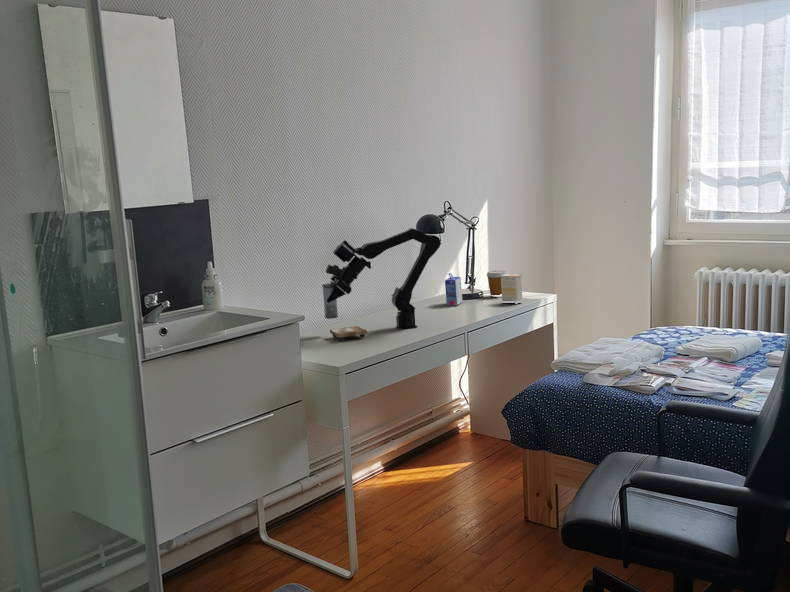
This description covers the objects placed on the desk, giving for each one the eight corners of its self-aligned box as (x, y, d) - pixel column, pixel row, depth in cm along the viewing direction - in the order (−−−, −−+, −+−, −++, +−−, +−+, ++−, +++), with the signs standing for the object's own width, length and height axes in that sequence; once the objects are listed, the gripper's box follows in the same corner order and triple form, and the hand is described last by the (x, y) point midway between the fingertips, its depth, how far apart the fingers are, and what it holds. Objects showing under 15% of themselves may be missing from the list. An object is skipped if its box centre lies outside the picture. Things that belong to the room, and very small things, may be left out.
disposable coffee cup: (507, 294, 366) (507, 270, 364) (507, 298, 357) (506, 272, 355) (488, 295, 368) (487, 270, 366) (486, 298, 359) (485, 273, 357)
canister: (335, 315, 297) (332, 282, 295) (340, 317, 292) (337, 284, 290) (322, 317, 295) (320, 284, 293) (327, 319, 290) (325, 285, 288)
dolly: (357, 333, 294) (356, 325, 293) (367, 337, 284) (367, 330, 283) (330, 336, 290) (329, 329, 289) (339, 341, 280) (339, 334, 279)
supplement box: (522, 303, 340) (522, 274, 338) (517, 304, 337) (516, 275, 335) (507, 302, 346) (506, 273, 344) (501, 303, 342) (500, 275, 340)
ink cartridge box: (451, 302, 353) (449, 271, 351) (462, 302, 351) (461, 271, 349) (445, 306, 344) (444, 274, 342) (457, 306, 342) (456, 274, 340)
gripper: (333, 254, 300) (308, 284, 299) (340, 258, 282) (313, 290, 281) (354, 272, 303) (329, 302, 302) (362, 278, 284) (335, 309, 284)
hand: (326, 300), depth 292 cm, fingers closed on canister, 5 cm apart
